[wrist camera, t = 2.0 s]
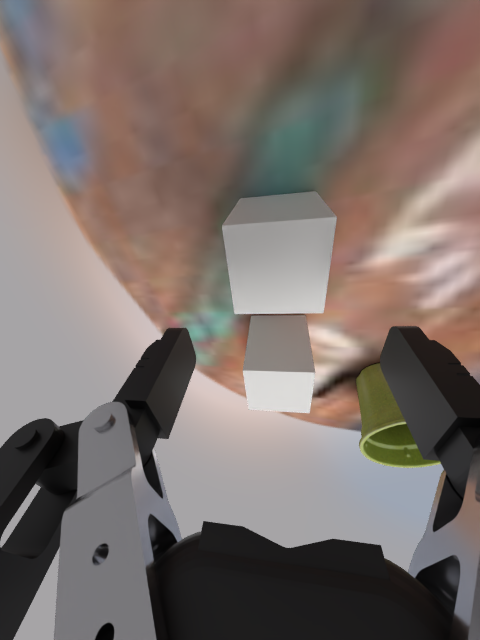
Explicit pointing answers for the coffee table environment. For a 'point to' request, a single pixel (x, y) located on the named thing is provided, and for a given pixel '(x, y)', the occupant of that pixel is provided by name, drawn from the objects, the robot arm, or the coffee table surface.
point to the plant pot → (385, 424)
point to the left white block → (279, 253)
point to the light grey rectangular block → (279, 364)
